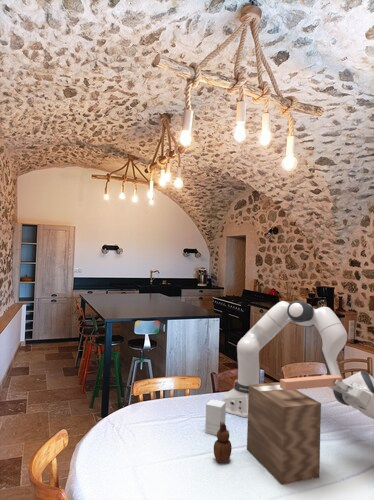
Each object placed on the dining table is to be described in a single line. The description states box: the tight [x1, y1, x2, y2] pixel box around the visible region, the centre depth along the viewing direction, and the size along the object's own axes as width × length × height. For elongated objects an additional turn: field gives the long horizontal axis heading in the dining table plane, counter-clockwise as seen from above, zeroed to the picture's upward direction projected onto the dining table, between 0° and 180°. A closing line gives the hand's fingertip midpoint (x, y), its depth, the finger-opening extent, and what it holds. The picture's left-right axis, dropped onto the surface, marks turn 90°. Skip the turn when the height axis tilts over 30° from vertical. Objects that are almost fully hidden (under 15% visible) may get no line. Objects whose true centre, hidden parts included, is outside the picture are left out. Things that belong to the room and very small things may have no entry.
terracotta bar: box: [279, 374, 344, 391], centre depth 133 cm, size 26×4×3 cm, turn 110°
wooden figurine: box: [213, 422, 233, 463], centre depth 134 cm, size 7×6×15 cm
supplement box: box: [204, 398, 227, 436], centre depth 158 cm, size 7×7×13 cm
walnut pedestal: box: [246, 381, 322, 485], centre depth 135 cm, size 16×24×26 cm, turn 20°
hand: (330, 379), depth 136 cm, fingers closed on terracotta bar, 3 cm apart
